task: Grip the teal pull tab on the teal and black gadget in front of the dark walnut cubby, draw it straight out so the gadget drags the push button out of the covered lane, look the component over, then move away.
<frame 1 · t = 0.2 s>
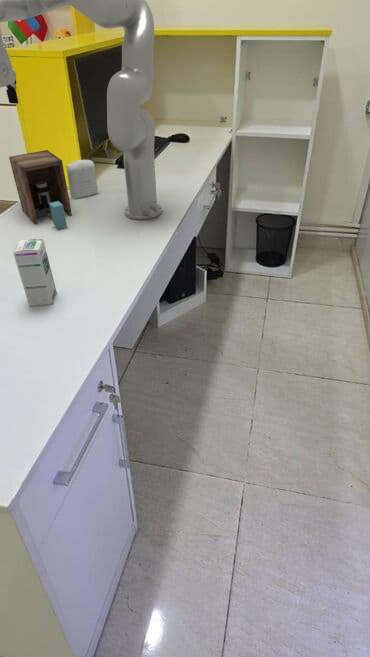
hand: (5, 106, 142), 31 cm above the table, tool pointing down, fingers open, 9 cm apart
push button: (45, 212, 152), on the table
teal and black gadget: (49, 206, 145), point 4 cm above the table, slide at 0.0 cm
walnut cubby: (47, 213, 151), on the table
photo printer: (84, 195, 164), on the table
syrup box: (42, 299, 108), on the table
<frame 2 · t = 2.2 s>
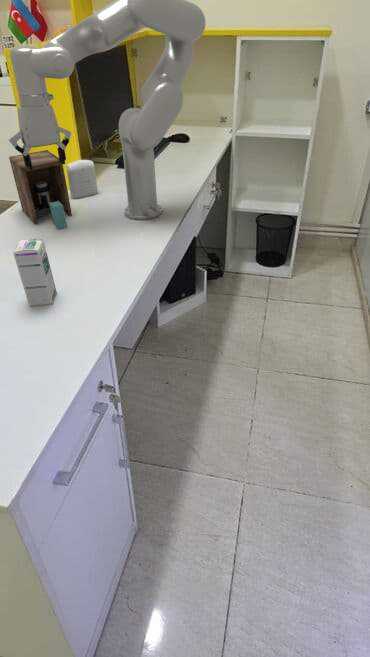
hand: (46, 165, 130), 19 cm above the table, tool pointing down, fingers open, 9 cm apart
nothing on the table moved.
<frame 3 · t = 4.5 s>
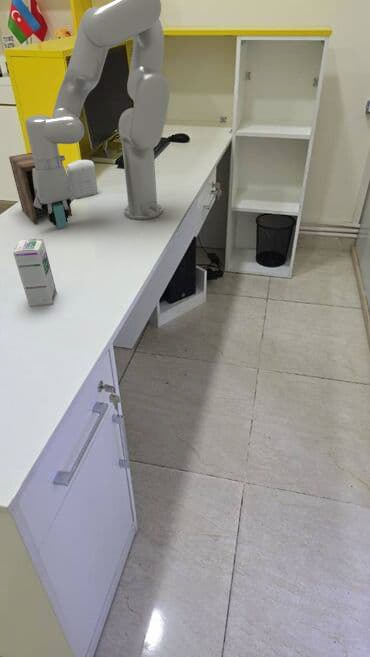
hand: (59, 221, 141), 2 cm above the table, tool pointing down, fingers closed on teal and black gadget, 3 cm apart
teal and black gadget: (49, 206, 145), point 4 cm above the table, slide at 0.0 cm, touching gripper
everything else where it was.
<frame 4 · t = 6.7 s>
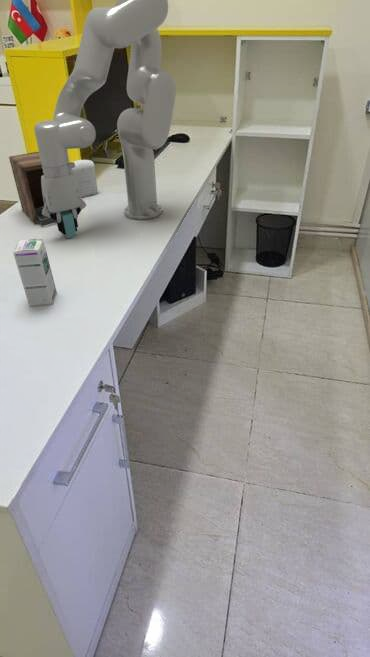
hand: (68, 230, 135), 2 cm above the table, tool pointing down, fingers closed on teal and black gadget, 3 cm apart
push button: (53, 217, 148), on the table
teal and black gadget: (57, 214, 140), point 4 cm above the table, slide at 8.2 cm, touching gripper
everything else where it was.
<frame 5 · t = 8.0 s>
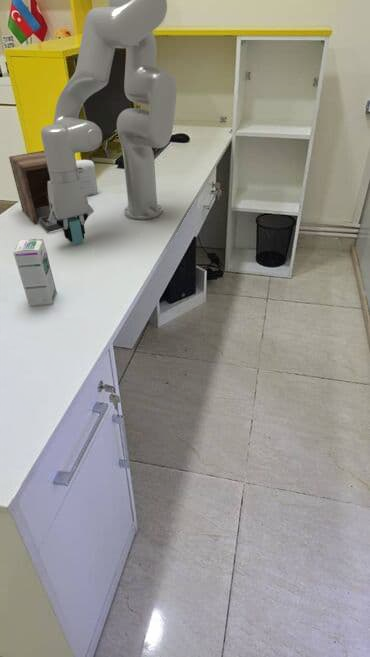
hand: (75, 237, 131), 2 cm above the table, tool pointing down, fingers closed on teal and black gadget, 3 cm apart
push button: (58, 223, 144), on the table, touching teal and black gadget
teal and black gadget: (64, 220, 136), point 4 cm above the table, slide at 13.7 cm, touching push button, gripper
everything else where it was.
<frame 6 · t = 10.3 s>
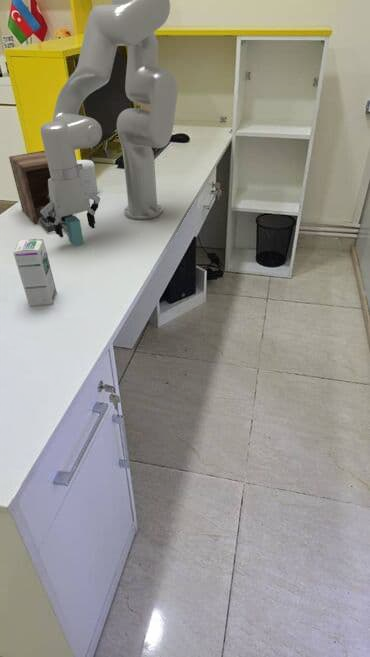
hand: (76, 231, 130), 4 cm above the table, tool pointing down, fingers open, 9 cm apart
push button: (58, 223, 144), on the table
teal and black gadget: (64, 220, 136), point 4 cm above the table, slide at 14.0 cm
everything else where it was.
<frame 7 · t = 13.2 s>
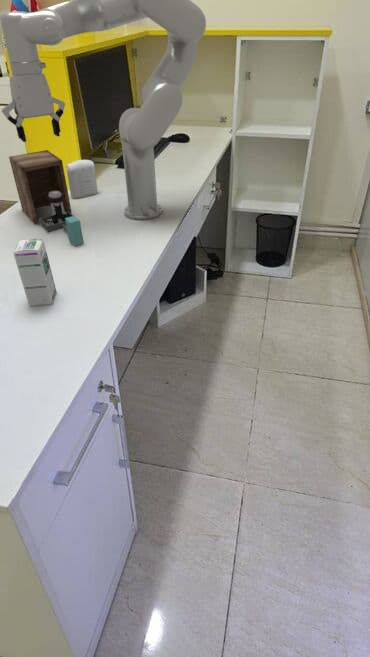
hand: (40, 138, 127), 26 cm above the table, tool pointing down, fingers open, 9 cm apart
nothing on the table moved.
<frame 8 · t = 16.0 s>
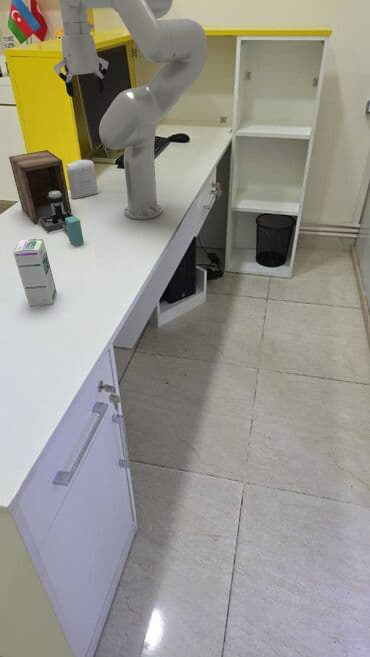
hand: (85, 94, 142), 33 cm above the table, tool pointing down, fingers open, 9 cm apart
nothing on the table moved.
at the end: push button inside the target area (5.4 cm from its centre), on the table; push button tilted 0° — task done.
